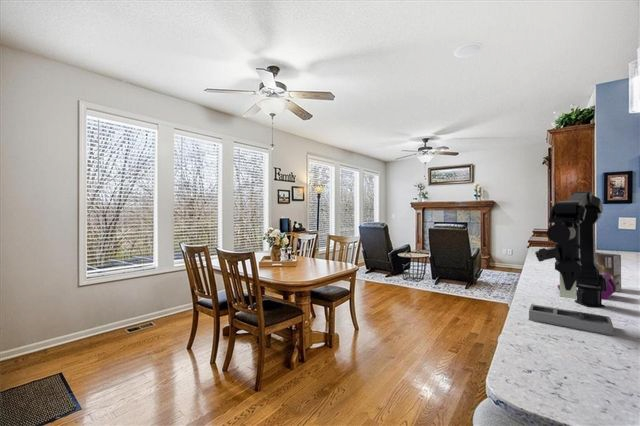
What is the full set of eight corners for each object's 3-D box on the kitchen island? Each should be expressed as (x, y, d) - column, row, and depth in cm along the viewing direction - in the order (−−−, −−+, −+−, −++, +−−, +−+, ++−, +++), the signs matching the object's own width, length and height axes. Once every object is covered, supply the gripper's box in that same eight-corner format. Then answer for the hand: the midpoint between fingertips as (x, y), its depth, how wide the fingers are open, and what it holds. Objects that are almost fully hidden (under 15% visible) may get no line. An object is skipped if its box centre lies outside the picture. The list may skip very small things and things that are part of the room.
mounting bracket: (564, 306, 129) (616, 296, 116) (554, 287, 132) (603, 276, 119) (570, 302, 135) (620, 292, 122) (560, 283, 138) (608, 272, 125)
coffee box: (622, 290, 131) (622, 254, 131) (614, 292, 129) (614, 255, 129) (596, 285, 140) (596, 252, 140) (588, 287, 138) (588, 252, 137)
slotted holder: (609, 326, 92) (609, 316, 92) (613, 335, 86) (613, 325, 85) (531, 312, 105) (531, 304, 105) (528, 319, 98) (528, 310, 98)
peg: (560, 293, 98) (559, 269, 98) (575, 296, 96) (575, 271, 96) (559, 296, 95) (559, 272, 95) (576, 299, 93) (576, 273, 92)
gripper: (538, 237, 107) (539, 279, 108) (534, 241, 93) (534, 291, 93) (579, 238, 100) (579, 284, 101) (581, 244, 86) (581, 297, 86)
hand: (567, 288), depth 95 cm, fingers closed on peg, 4 cm apart
